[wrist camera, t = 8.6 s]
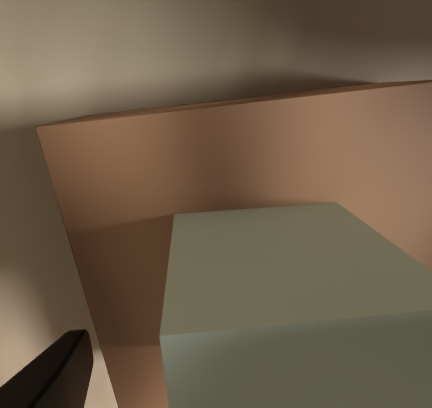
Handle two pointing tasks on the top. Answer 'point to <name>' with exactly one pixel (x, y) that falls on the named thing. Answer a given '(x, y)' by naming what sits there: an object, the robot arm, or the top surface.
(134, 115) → the walnut block
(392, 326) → the sage green block
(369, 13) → the top surface
